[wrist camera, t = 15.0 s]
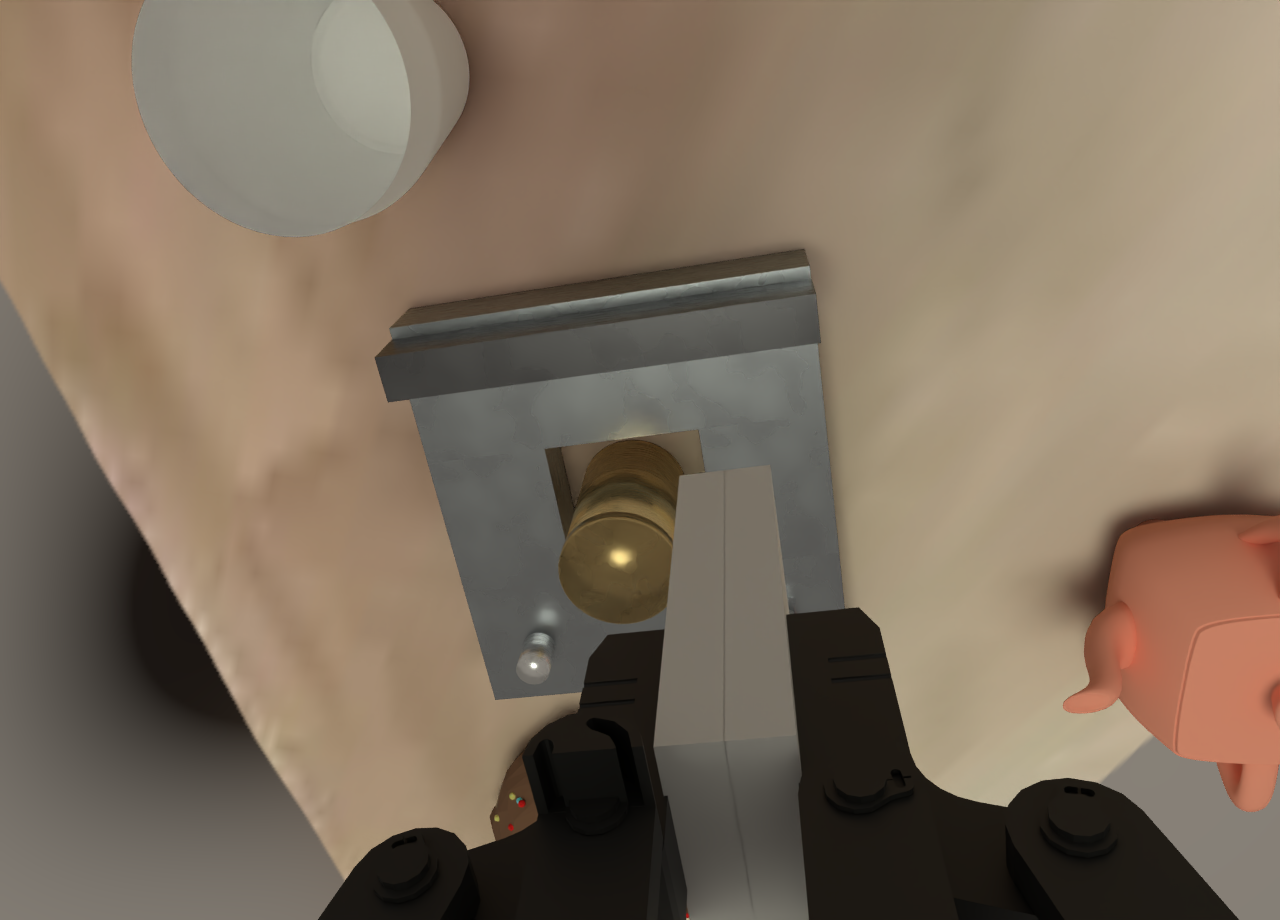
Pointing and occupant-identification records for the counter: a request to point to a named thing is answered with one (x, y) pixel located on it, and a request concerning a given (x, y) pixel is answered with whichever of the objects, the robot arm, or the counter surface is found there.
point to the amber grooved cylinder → (622, 534)
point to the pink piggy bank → (1196, 644)
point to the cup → (298, 103)
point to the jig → (610, 431)
